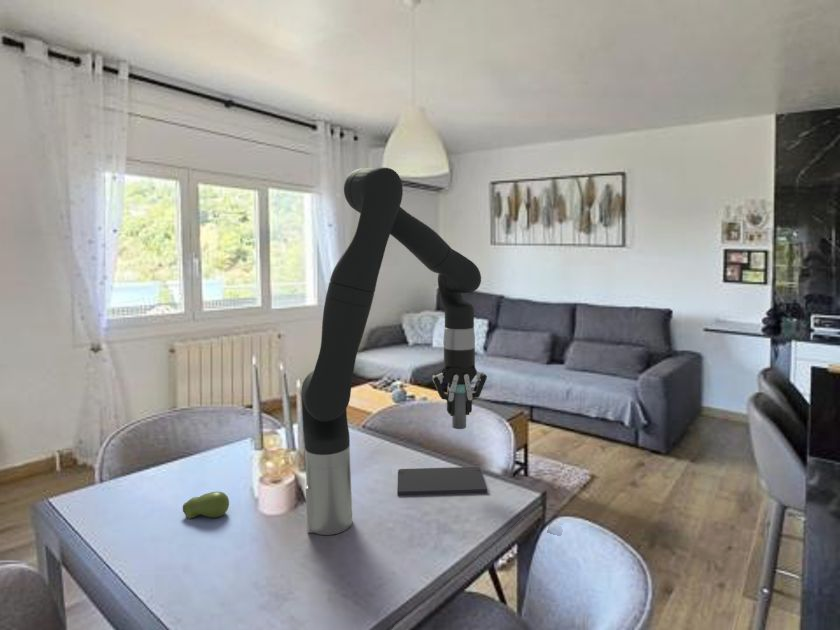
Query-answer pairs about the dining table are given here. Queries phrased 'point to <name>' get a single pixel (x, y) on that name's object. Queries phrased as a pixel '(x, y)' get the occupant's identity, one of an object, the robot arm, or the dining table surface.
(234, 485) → the dining table surface
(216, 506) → the pear
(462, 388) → the marker
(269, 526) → the dining table surface
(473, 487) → the notebook
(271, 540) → the dining table surface
